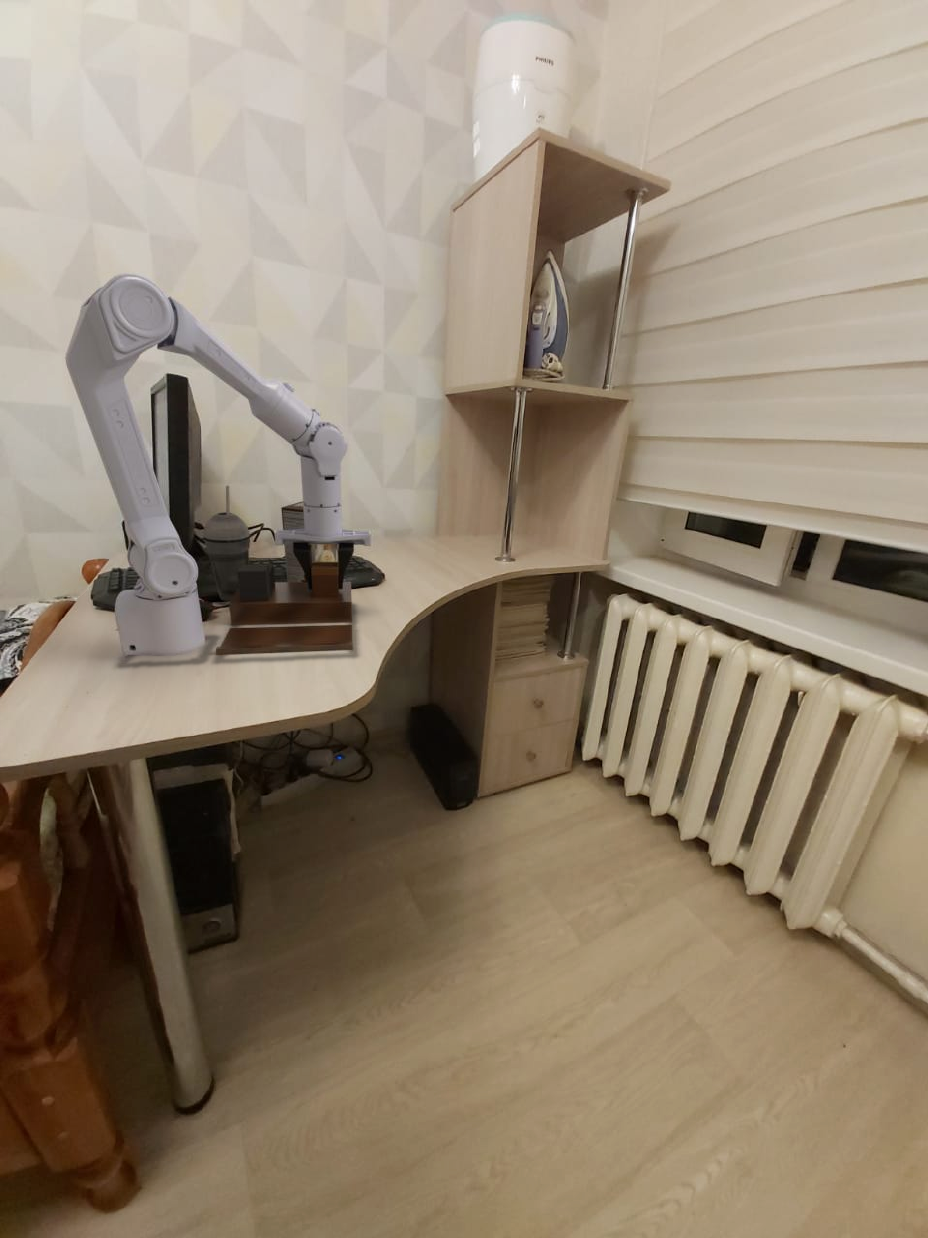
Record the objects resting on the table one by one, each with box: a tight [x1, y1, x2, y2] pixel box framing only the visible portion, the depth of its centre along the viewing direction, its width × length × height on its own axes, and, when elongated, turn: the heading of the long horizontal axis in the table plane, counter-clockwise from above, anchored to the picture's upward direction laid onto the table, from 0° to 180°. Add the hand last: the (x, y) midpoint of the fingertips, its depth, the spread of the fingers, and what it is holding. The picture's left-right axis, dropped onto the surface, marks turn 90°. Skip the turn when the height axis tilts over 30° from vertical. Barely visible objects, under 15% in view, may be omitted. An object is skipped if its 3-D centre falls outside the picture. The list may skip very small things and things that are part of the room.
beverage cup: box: [202, 485, 252, 602], centre depth 84 cm, size 7×7×20 cm
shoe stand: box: [215, 581, 354, 656], centre depth 77 cm, size 18×20×4 cm
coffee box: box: [280, 500, 339, 582], centre depth 93 cm, size 9×6×16 cm
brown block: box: [311, 562, 339, 597], centre depth 82 cm, size 8×4×5 cm, turn 13°
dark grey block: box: [237, 563, 276, 601], centre depth 79 cm, size 8×4×5 cm, turn 13°
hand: (326, 587), depth 82 cm, fingers closed on brown block, 4 cm apart
